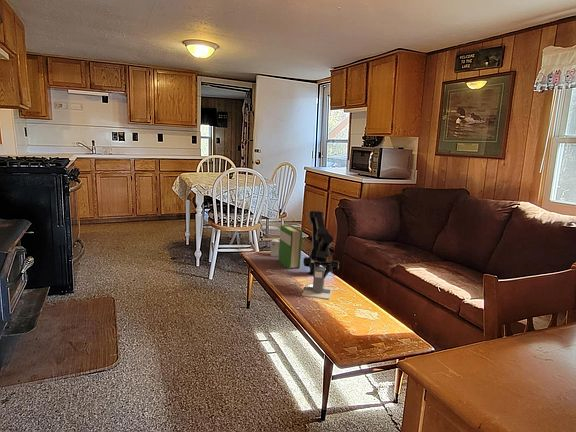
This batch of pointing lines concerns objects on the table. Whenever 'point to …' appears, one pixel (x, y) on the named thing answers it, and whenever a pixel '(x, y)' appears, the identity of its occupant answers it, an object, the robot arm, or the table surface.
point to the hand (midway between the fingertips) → (318, 278)
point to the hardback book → (290, 246)
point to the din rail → (322, 290)
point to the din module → (318, 279)
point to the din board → (318, 293)
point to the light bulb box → (275, 247)
